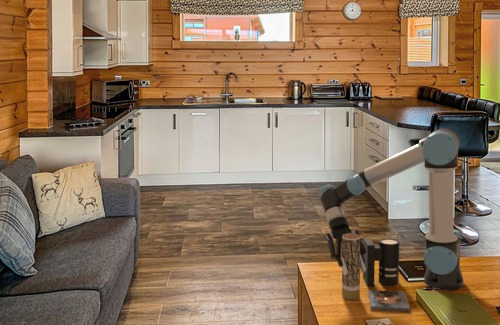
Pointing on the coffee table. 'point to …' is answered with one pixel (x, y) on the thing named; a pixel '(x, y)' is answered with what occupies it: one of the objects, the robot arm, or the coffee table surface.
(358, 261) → the paper tube
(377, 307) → the plate
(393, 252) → the light fixture
